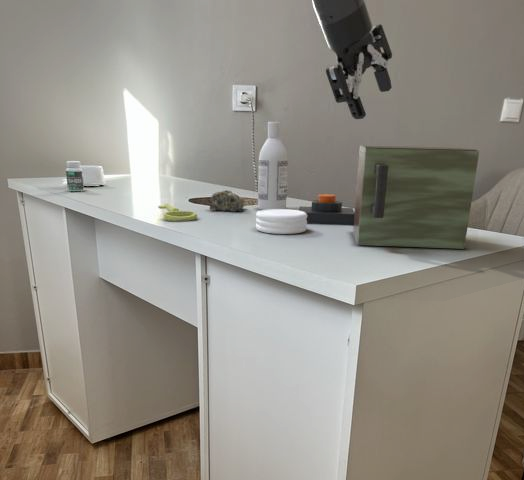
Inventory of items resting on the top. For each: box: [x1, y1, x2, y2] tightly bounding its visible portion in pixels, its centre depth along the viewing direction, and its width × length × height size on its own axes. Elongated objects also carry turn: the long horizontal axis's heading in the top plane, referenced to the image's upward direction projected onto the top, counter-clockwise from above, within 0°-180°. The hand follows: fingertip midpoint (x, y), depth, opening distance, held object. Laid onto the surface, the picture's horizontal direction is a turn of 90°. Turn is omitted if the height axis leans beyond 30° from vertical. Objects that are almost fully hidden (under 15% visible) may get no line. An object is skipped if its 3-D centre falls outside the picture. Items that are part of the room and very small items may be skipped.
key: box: [157, 203, 198, 222], centre depth 121 cm, size 7×12×2 cm, turn 45°
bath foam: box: [257, 121, 289, 211], centre depth 134 cm, size 7×7×20 cm
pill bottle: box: [65, 160, 85, 192], centre depth 165 cm, size 5×5×8 cm
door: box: [356, 148, 480, 250], centre depth 90 cm, size 6×18×16 cm, turn 85°
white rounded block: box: [80, 165, 106, 186], centre depth 182 cm, size 12×10×6 cm
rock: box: [208, 189, 245, 212], centre depth 134 cm, size 7×8×4 cm
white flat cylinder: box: [255, 208, 308, 235], centre depth 109 cm, size 10×10×4 cm
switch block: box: [298, 199, 355, 226], centre depth 122 cm, size 12×10×4 cm
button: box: [318, 193, 336, 203], centre depth 121 cm, size 4×4×2 cm
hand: (373, 103), depth 98 cm, fingers open, 8 cm apart
